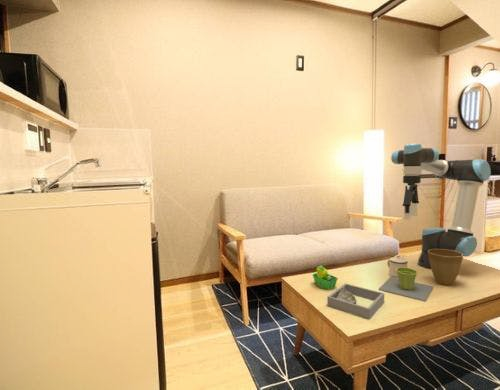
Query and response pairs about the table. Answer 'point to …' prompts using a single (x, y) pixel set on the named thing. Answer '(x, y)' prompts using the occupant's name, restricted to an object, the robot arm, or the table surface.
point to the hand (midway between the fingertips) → (410, 217)
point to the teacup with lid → (396, 265)
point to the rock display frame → (355, 308)
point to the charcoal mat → (417, 292)
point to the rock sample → (346, 296)
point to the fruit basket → (324, 278)
